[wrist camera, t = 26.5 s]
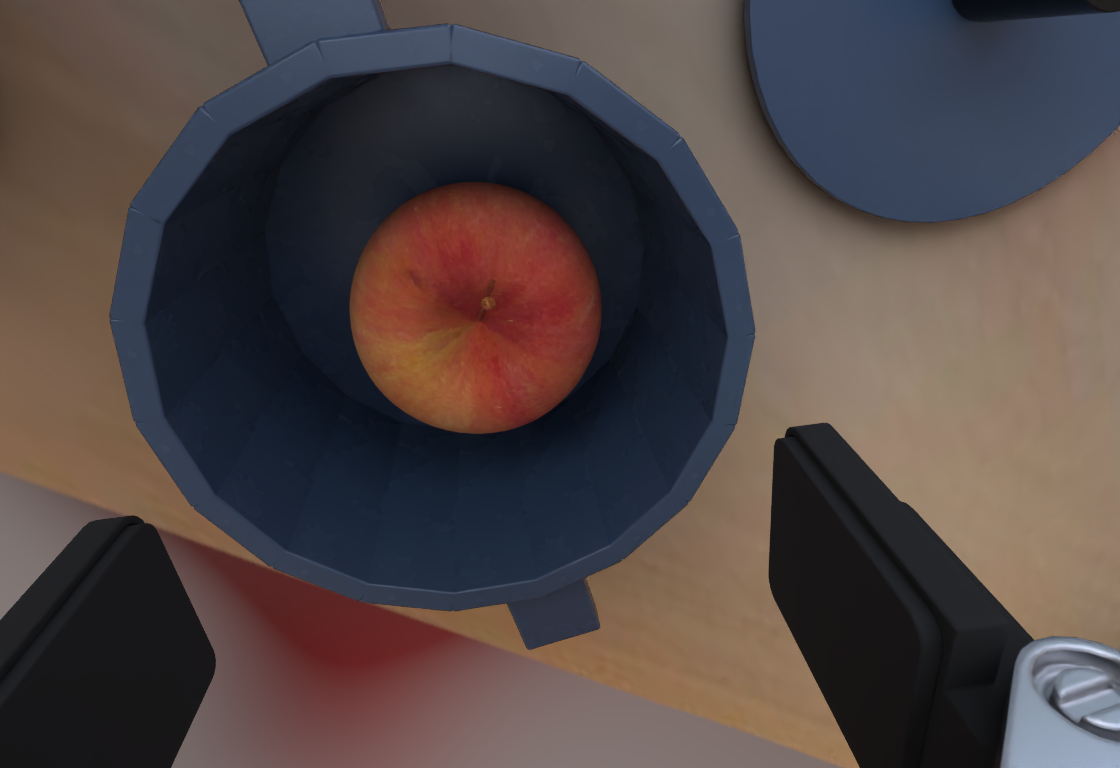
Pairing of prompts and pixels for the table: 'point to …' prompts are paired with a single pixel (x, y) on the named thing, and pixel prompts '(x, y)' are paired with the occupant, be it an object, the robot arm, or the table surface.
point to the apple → (475, 308)
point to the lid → (935, 96)
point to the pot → (326, 337)
